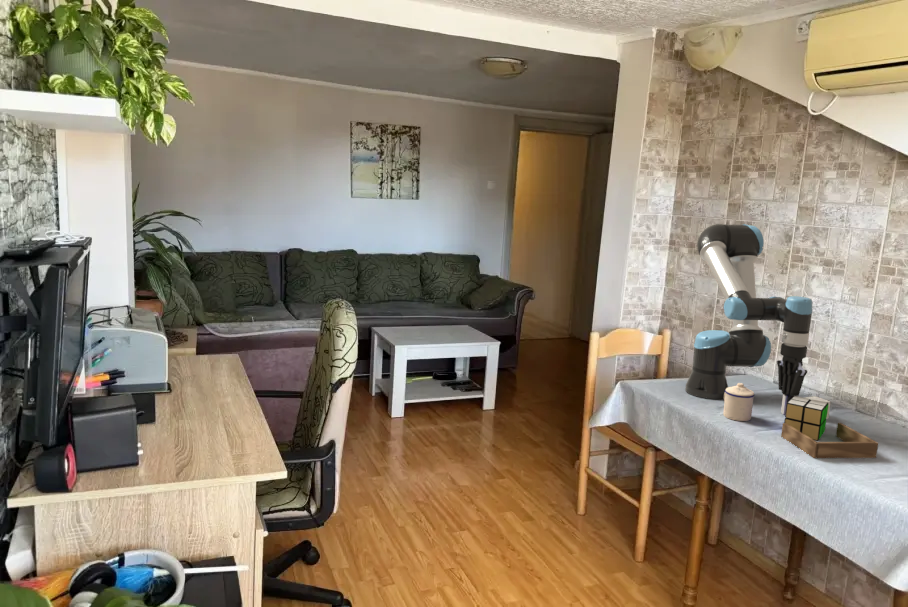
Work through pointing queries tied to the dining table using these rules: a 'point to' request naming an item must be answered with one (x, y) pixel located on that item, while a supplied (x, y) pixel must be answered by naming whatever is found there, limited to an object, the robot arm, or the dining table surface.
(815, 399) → the cream white cube
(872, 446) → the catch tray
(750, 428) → the dining table surface
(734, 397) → the teacup with lid
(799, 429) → the puzzle cube
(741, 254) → the robot arm
